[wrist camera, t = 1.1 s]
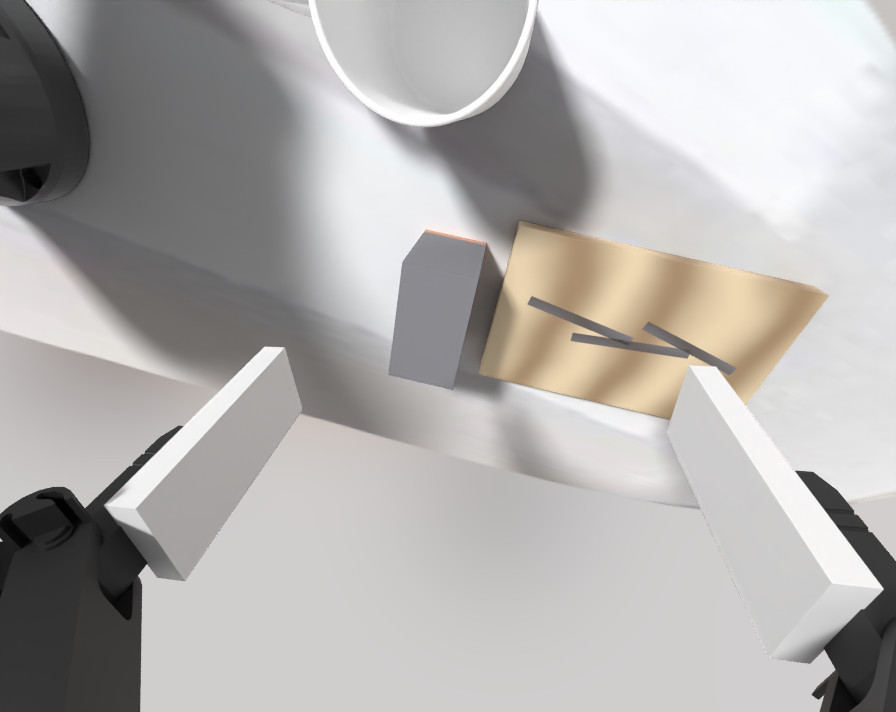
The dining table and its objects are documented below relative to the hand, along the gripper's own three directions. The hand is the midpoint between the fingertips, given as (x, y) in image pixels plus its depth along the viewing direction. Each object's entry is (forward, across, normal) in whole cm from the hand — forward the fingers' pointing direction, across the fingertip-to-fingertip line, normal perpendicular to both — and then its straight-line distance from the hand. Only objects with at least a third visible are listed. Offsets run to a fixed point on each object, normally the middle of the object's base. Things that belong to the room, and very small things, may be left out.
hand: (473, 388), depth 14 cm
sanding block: (+18, -4, -4) cm, 18 cm away
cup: (+18, -4, +12) cm, 22 cm away
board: (+17, +10, -7) cm, 21 cm away
